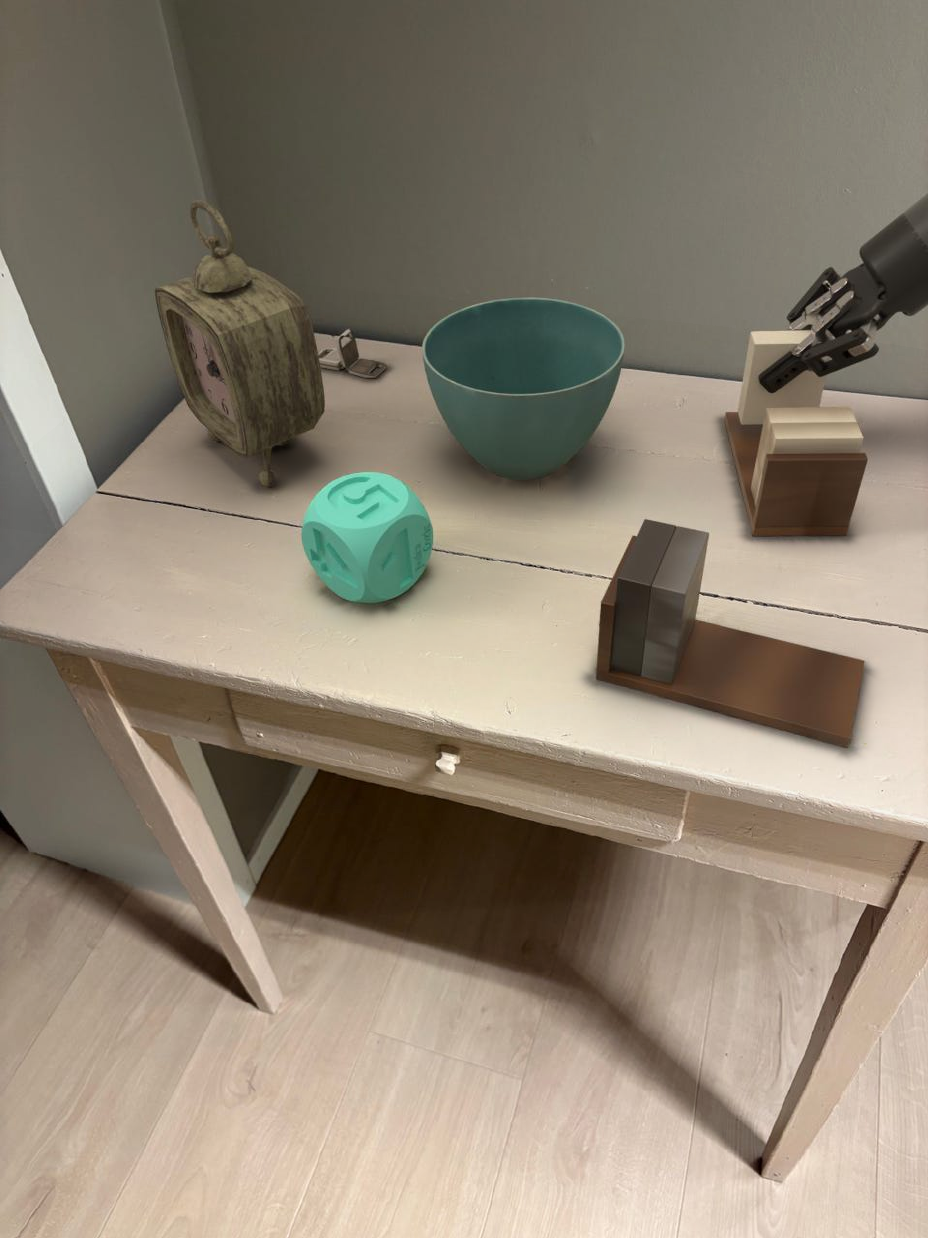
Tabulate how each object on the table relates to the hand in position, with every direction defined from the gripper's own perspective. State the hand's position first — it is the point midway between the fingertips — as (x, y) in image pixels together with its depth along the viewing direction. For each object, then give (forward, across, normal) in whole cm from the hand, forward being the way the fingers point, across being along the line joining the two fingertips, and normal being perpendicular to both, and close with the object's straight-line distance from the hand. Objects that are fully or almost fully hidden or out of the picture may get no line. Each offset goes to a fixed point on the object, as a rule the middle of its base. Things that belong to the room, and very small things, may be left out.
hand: (761, 377), depth 90 cm
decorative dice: (+30, +20, -20) cm, 41 cm away
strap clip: (+35, -16, -25) cm, 46 cm away
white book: (+2, 0, +5) cm, 5 cm away
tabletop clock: (+39, +1, -29) cm, 49 cm away
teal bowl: (+21, +2, -11) cm, 24 cm away
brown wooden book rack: (+4, +6, +6) cm, 9 cm away
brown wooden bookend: (+9, +32, 0) cm, 33 cm away
